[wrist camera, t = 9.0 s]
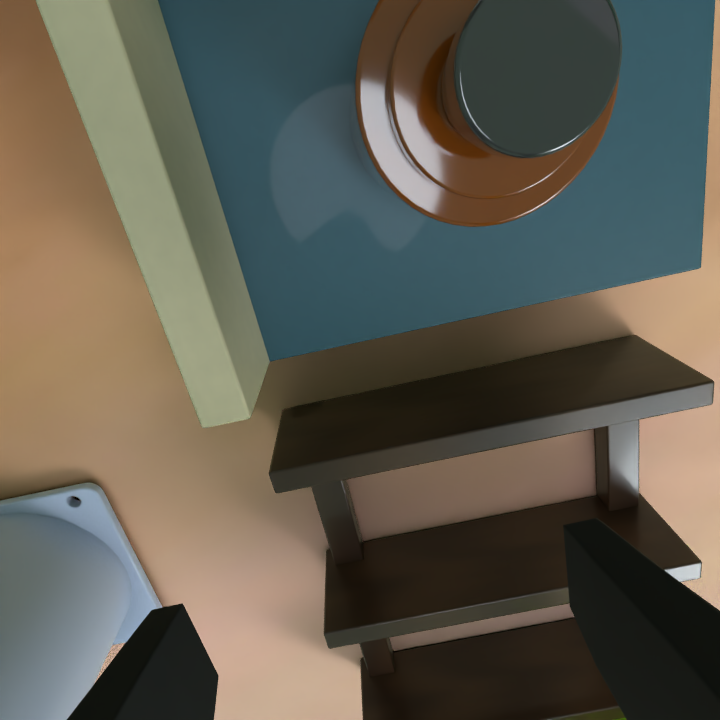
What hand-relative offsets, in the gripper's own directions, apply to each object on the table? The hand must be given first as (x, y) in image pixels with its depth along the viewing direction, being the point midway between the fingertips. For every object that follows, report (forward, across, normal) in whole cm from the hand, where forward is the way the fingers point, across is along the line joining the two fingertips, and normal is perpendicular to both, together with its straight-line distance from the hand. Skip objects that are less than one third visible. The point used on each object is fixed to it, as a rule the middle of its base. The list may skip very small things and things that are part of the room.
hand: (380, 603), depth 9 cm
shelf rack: (+9, -4, +7) cm, 12 cm away
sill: (+9, -4, -8) cm, 13 cm away
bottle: (+7, -4, -8) cm, 11 cm away
